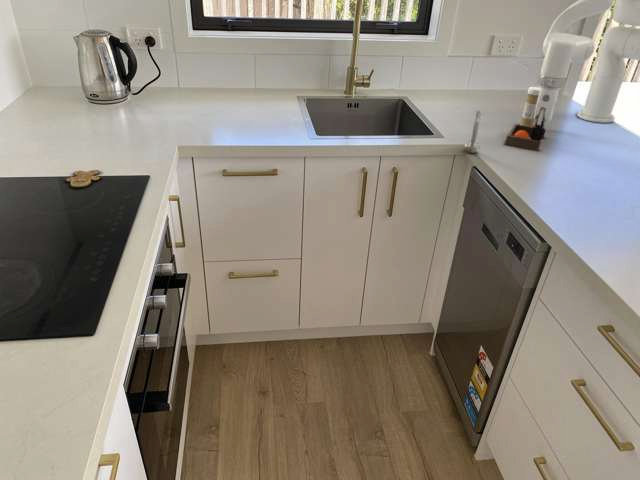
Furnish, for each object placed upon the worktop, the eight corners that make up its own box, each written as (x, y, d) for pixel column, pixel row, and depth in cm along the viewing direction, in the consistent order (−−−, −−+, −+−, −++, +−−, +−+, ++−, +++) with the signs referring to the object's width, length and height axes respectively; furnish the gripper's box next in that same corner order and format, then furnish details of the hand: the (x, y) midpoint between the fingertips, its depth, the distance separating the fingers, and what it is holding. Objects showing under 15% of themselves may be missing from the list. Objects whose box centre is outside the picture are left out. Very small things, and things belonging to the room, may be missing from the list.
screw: (482, 153, 148) (469, 155, 147) (472, 148, 152) (459, 150, 150) (491, 111, 141) (478, 113, 140) (480, 107, 145) (467, 108, 143)
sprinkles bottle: (535, 127, 171) (546, 88, 163) (527, 129, 168) (537, 90, 161) (524, 123, 174) (534, 85, 167) (516, 125, 172) (526, 87, 164)
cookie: (103, 168, 130) (95, 183, 122) (104, 171, 131) (96, 187, 122) (70, 169, 129) (60, 185, 121) (71, 172, 130) (61, 188, 121)
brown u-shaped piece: (512, 132, 165) (514, 123, 164) (543, 137, 161) (546, 129, 160) (505, 144, 155) (507, 135, 154) (537, 150, 151) (540, 141, 150)
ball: (529, 137, 157) (514, 140, 159) (527, 126, 154) (512, 128, 156) (529, 146, 154) (514, 148, 156) (528, 134, 151) (512, 136, 153)
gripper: (562, 89, 140) (544, 148, 149) (567, 78, 151) (550, 134, 160) (534, 85, 143) (519, 144, 152) (541, 75, 154) (527, 130, 163)
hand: (535, 139), depth 156 cm, fingers closed
